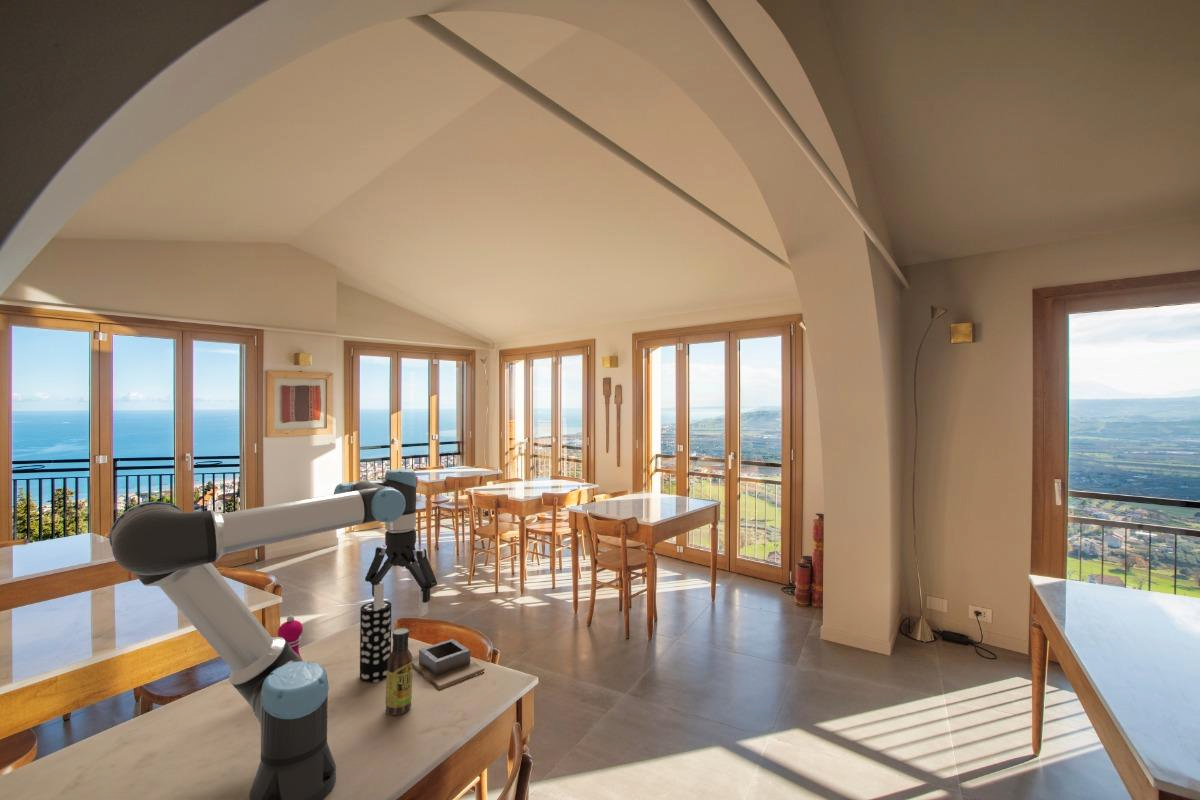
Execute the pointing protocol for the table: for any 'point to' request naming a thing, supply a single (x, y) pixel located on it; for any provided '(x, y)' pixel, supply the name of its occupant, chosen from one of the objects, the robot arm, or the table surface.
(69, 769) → the table surface
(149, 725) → the table surface
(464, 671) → the caddy board
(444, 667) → the bottle socket
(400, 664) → the sauce bottle
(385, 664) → the spotted tube
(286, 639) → the pepper mill
